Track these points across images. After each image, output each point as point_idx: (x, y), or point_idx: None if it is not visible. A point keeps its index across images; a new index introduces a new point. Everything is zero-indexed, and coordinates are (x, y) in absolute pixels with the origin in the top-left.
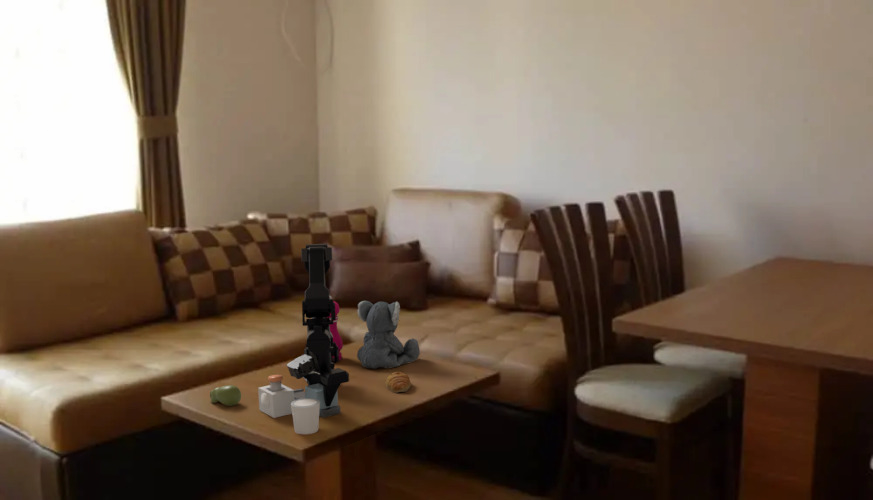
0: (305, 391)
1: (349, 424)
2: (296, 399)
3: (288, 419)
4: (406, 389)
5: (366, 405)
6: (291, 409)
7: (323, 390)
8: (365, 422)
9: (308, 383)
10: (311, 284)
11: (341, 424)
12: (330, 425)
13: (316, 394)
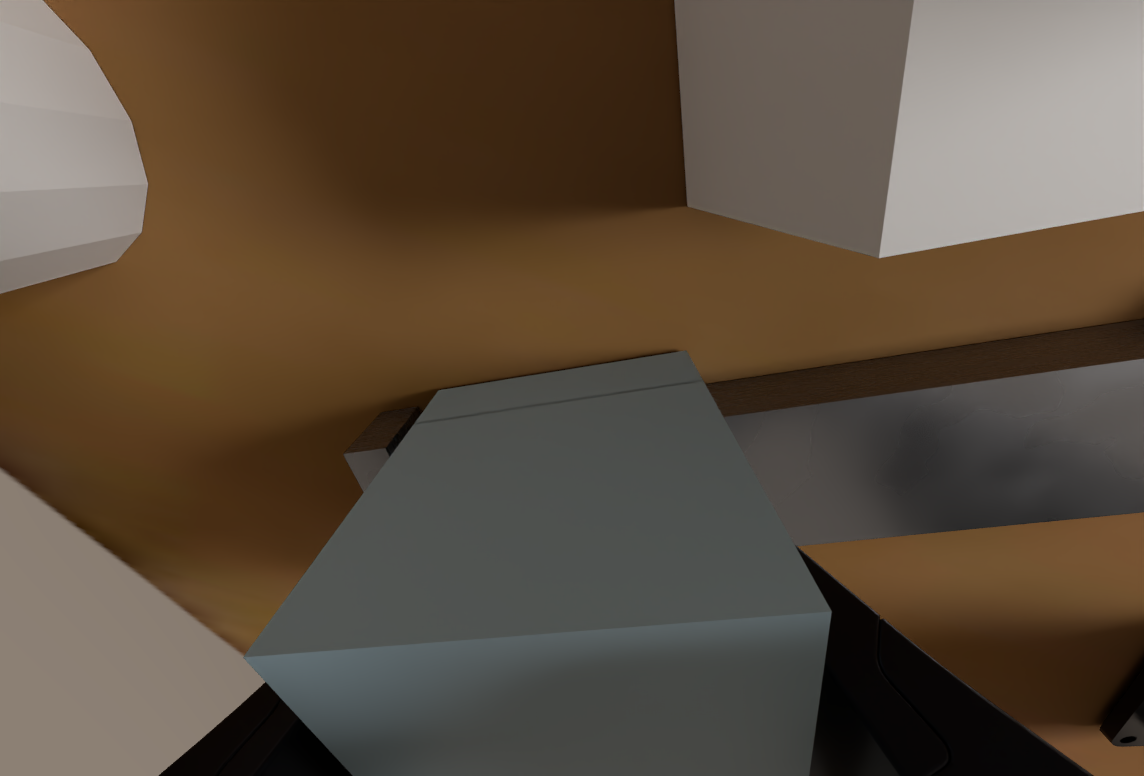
0: (755, 510)
1: (168, 521)
2: (1045, 359)
3: (476, 14)
4: None
5: None
6: (698, 146)
7: (258, 752)
8: (201, 603)
9: (933, 727)
10: None
11: (174, 479)
12: (155, 402)
13: (299, 596)
